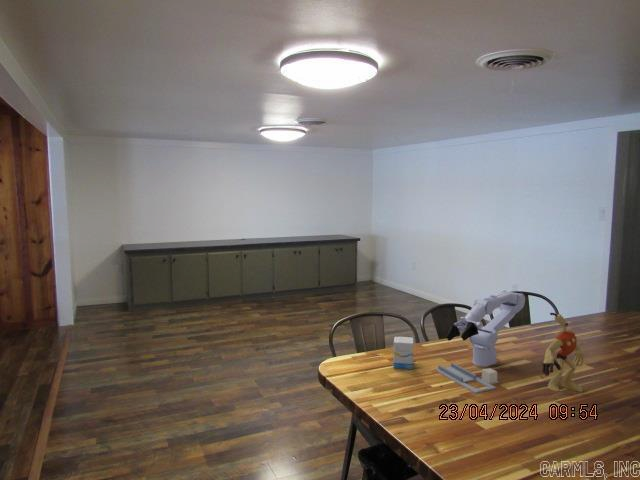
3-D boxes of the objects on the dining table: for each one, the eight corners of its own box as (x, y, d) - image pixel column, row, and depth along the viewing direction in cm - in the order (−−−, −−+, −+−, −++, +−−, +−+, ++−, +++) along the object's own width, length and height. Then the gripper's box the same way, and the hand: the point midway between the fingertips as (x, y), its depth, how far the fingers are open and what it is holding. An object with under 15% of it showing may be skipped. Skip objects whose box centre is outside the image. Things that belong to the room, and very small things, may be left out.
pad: (488, 380, 177) (488, 376, 177) (499, 386, 172) (499, 382, 171) (478, 382, 175) (478, 378, 175) (489, 388, 170) (490, 384, 169)
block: (489, 377, 176) (489, 368, 175) (497, 381, 172) (497, 371, 172) (481, 379, 174) (481, 369, 174) (489, 383, 171) (489, 373, 170)
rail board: (455, 370, 187) (455, 362, 187) (495, 392, 166) (496, 383, 166) (435, 374, 183) (435, 365, 183) (474, 397, 162) (475, 388, 162)
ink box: (413, 369, 188) (413, 343, 187) (393, 368, 190) (393, 342, 189) (413, 362, 197) (413, 337, 195) (393, 361, 198) (394, 335, 197)
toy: (550, 404, 157) (554, 321, 154) (528, 394, 164) (532, 315, 161) (589, 390, 167) (594, 313, 164) (568, 381, 175) (571, 307, 172)
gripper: (454, 311, 189) (437, 330, 182) (482, 309, 177) (464, 329, 169) (462, 325, 190) (445, 344, 182) (490, 324, 178) (473, 344, 170)
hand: (455, 338), depth 176 cm, fingers open, 7 cm apart
